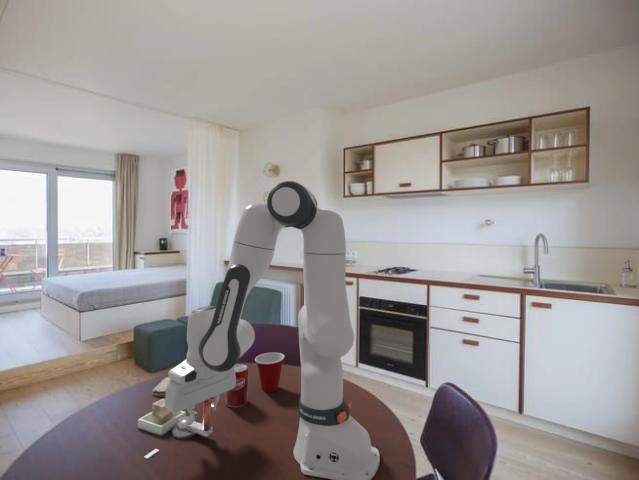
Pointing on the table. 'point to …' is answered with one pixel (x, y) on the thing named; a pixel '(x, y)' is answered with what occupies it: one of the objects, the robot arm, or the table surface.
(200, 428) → the crank
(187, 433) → the crank plinth
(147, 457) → the strip
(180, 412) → the tray
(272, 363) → the plastic cup
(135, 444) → the table surface
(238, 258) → the robot arm
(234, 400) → the soda can
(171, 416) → the block
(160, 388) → the washcloth
